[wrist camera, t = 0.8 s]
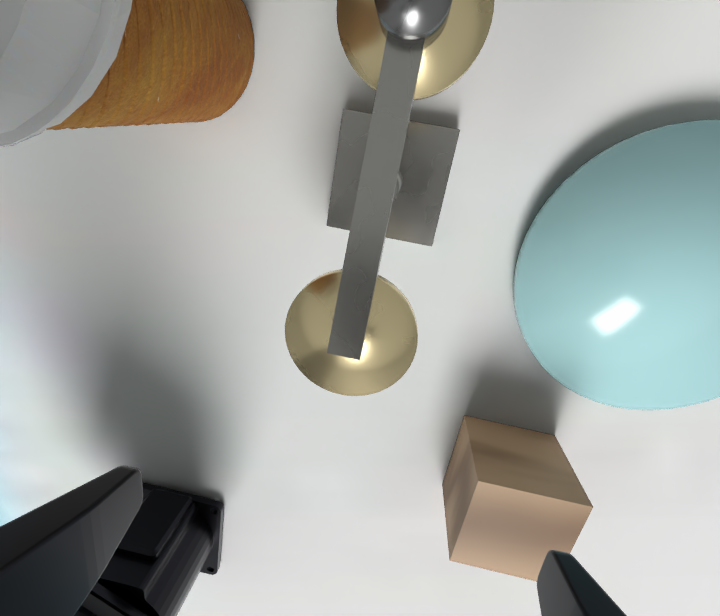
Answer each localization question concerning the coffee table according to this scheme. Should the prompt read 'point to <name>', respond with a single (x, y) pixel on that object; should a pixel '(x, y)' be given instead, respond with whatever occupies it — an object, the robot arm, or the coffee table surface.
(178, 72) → the disposable coffee cup
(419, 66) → the balance
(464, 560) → the tan block
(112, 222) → the coffee table surface
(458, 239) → the coffee table surface
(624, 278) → the teal dish
